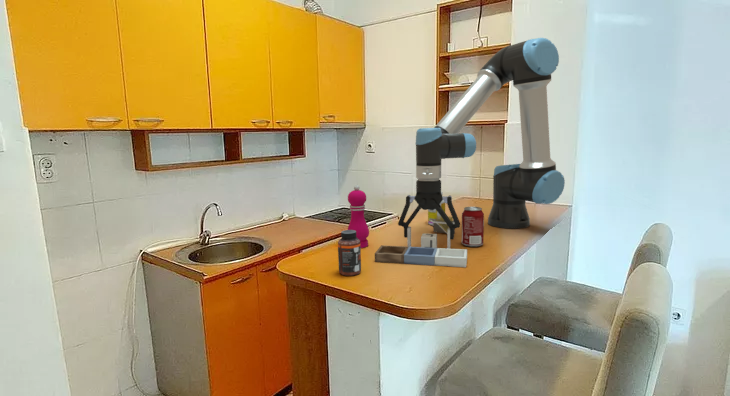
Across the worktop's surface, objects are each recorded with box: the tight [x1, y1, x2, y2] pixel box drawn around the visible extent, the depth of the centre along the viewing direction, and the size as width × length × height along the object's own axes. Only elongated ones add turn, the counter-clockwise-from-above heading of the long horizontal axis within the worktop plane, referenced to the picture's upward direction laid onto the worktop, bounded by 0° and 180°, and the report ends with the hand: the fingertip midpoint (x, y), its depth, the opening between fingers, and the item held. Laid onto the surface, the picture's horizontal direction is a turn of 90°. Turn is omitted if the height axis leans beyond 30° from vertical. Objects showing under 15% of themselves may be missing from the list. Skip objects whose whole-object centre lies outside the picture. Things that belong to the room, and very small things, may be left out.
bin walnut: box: [374, 245, 408, 265], centre depth 119 cm, size 8×8×2 cm
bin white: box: [434, 247, 468, 268], centre depth 114 cm, size 8×8×2 cm
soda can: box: [461, 206, 485, 248], centre depth 129 cm, size 7×7×12 cm
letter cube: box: [420, 233, 438, 249], centre depth 126 cm, size 4×5×5 cm
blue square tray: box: [403, 246, 438, 266], centre depth 116 cm, size 8×8×2 cm
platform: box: [430, 216, 456, 235], centre depth 145 cm, size 12×18×7 cm, turn 62°
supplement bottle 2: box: [427, 191, 446, 226], centre depth 158 cm, size 7×7×13 cm
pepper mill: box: [347, 184, 370, 249], centre depth 131 cm, size 7×7×20 cm
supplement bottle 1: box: [337, 229, 362, 277], centre depth 107 cm, size 6×6×11 cm
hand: (428, 248), depth 127 cm, fingers open, 12 cm apart
